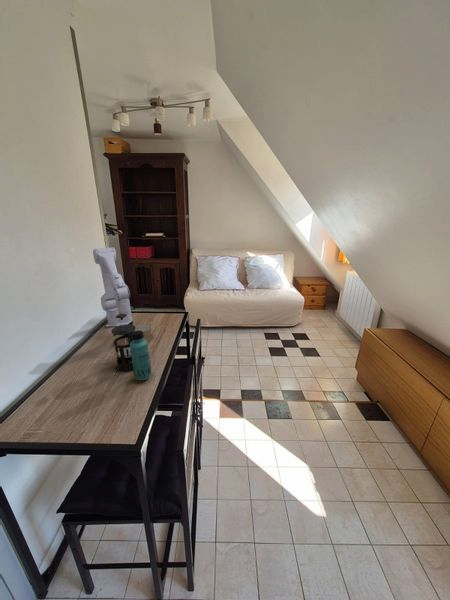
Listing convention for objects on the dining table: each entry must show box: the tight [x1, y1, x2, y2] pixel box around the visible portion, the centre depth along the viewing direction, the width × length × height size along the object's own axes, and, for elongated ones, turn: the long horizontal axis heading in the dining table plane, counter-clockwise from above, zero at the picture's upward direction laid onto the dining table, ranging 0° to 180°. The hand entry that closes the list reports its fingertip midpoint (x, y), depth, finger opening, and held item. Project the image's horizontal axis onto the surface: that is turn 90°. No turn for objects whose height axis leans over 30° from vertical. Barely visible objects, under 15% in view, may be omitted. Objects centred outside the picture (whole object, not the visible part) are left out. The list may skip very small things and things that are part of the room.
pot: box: [134, 323, 153, 342], centre depth 125 cm, size 12×9×6 cm
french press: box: [111, 314, 136, 373], centre depth 101 cm, size 12×9×23 cm
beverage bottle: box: [130, 330, 152, 381], centre depth 93 cm, size 6×7×20 cm
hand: (128, 336), depth 125 cm, fingers closed, pressing on pot
